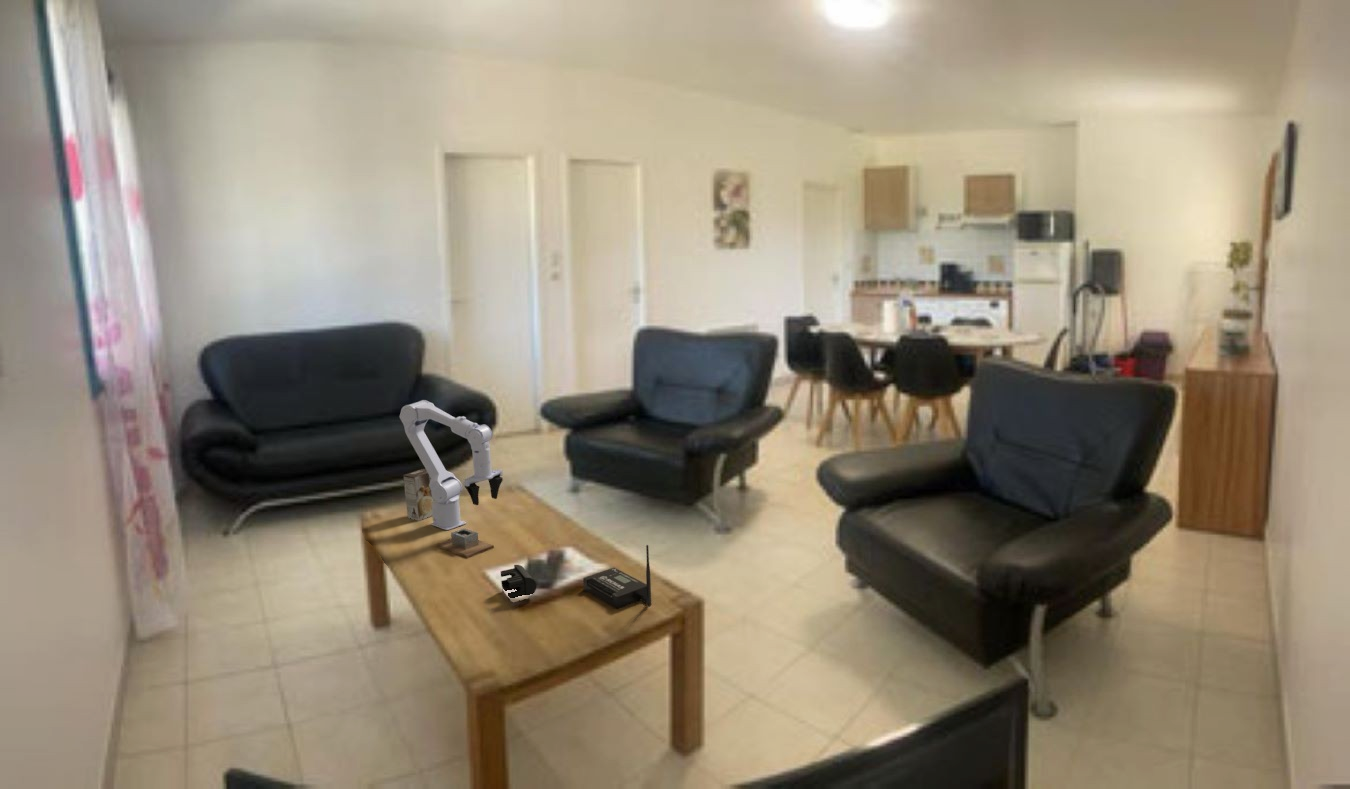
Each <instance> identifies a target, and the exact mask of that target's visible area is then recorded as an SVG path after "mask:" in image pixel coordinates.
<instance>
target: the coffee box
mask: <svg viewBox="0 0 1350 789" xmlns="http://www.w3.org/2000/svg"><path fill="white" fill-rule="evenodd" d="M402 478H403V486H404V495H405V505H406V513H407V518H408V519H410V518H411V520H414V519H415V520H414V521H418V522H419V521H422V519H423V520H425V519H427V517H428V518H430V517H433V513H432V504H433V502H434V501H435V500H434V499H433V497H432V494H431V489H430V487H429V484H430V481H431V477H430V475H429V474H428V472H427V470H426V468H421V469H418V470H414V471H412V472H409V473H406V474H403V475H402Z"/></svg>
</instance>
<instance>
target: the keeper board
mask: <svg viewBox="0 0 1350 789" xmlns="http://www.w3.org/2000/svg"><path fill="white" fill-rule="evenodd" d="M463 535H464V536H467V534H463ZM478 543H479V545H477V546H474V547H471V548H469V549H466V550H465V549H462V548H459V547H457V546H454V545H452V538H449V539H446V540H444V541H442V542H438V543H437V544H436V547H437V548H441V549H442V550H446V551H448V552H450V553H453V554H456V555H458V556H462V557H464V558H467V559H468V558H471V557H474V556H476V555H478V554H482V553H483V552H487V551H489V550H491V549H494V548H495V546H494V544H490V543H488V542H485V541H482V540H480V539H478Z"/></svg>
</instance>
